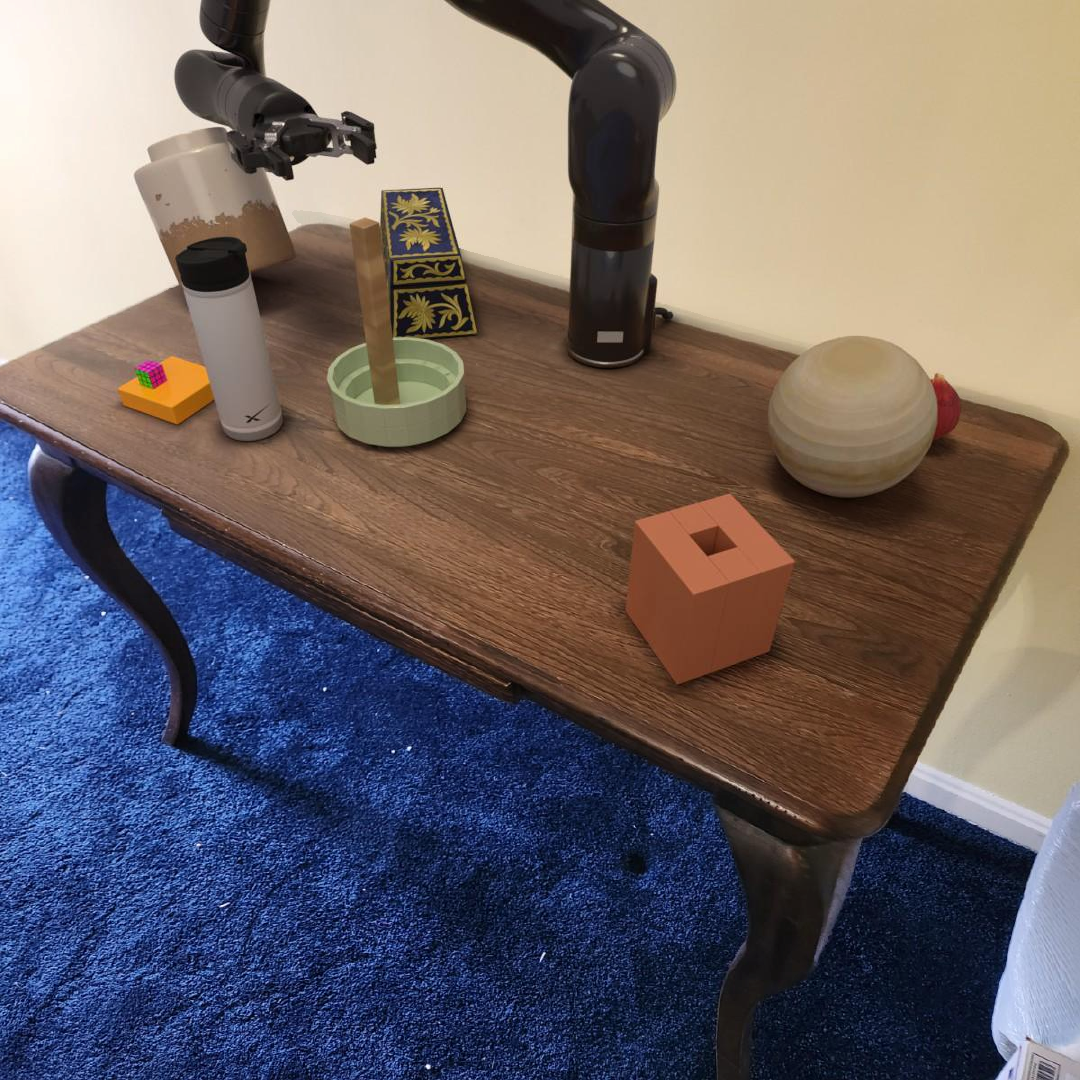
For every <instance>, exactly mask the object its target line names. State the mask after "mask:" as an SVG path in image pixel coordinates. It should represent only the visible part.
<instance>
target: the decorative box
mask: <svg viewBox="0 0 1080 1080" xmlns="http://www.w3.org/2000/svg"><path fill="white" fill-rule="evenodd" d="M379 217H380V219H379V225H380V233H381V242H382V250H383V259H384V268H385V276H386V285H387V293H388V302H389V310H390V319H391V328H392V336H393V338H396V337H412V338H420V339H428V340H432V339H444V338H455V337H465V336H466V337H467V336H477V335H478V332H477V328H476V322H475V318H474V312H473V307H472V302H471V298H470V291H469V287H468V281H467V278H466V273H465V269H464V263H463V259H462V253H461V251H460V246H459V243H458V242H459V241H458V239H457V235H456V231H455V228H454V224H453V221H452V217H451V212H450V210H449V206H448V203H447V199H446V196H445V191H444V187H442V188H441V187H424V188H404V189H403V188H402V189H401V188H400V189H385V190H383V189H382V190H381V191H380V215H379Z"/></svg>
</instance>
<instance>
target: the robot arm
mask: <svg viewBox="0 0 1080 1080" xmlns="http://www.w3.org/2000/svg"><path fill="white" fill-rule="evenodd" d="M271 1H272V0H200V5H199V6H200V7H199V14H198V15H199V19H198V20H199V22H198V23H199V28H200V30H201V32H202V34H203V36H204V37H205V38H206V40H207V41H209V42H210V43H211V44H212V45H214V46H215V47H217V48H218V49H221V50H222V51H216V50H209V49H199V48H198V49H197V48H196V49H190V50H187V51H185V52H184V53H182V54H181V55H180V56H179V58H178V59H177V62H176V63H175V67H174V73H173V79H174V86H175V89H176V92H177V95H178V98H179V99H180V101H181V102H182V104H183V106H184V107H185V108H186V109H187V110H188V111H189V112H190V113H191V114H193V116H194V115H195V116H196V117H198V118H200V119H203V120H205V121H208V122H211V123H215V124H217V125H221V126H224V127H228V128H229V129H231V130H229V131H227V133H226V135H227V139H228V144H229V148H230V152H231V157H232V159H233V160H234V161H235V162H236V163H237V164H238V166H239V167H240V168H241V169H242V170H243V171H244V172H245V173H247V174H253V173H256V172H257V168H264V170H265V172H266V173H271V174H273V175H274V176H275V177H279V178H282V179H283V180H285V182H288V181H293V180H294V179H295V174H294V169H293V166H297V165H299V164H301V163H303V162H304V161H306V160H307V159H308V158H310V157H311V158H317V157H318V156H322V157H331V158H340V157H342V156H343V155H344V154H345V155H350V156H351V155H352V156H353V157H354V158H356V159H358V160H359V161H360V162H362V163H364V164H365V165H367V166H368V165H369V166H370V165H373V164H375V162H376V161H375V160H376V159H377V151H376V150H377V149H378V148H377V142H376V141H377V140H376V134H375V133H376V132H375V130H376V129H375V123H374V122H371V121H370V120H367V118H364V117H361V116H360V115H358V114H356V113H355V112H352V111H348V110H345V111H343V112H341V113H340V117H341V120H340V119H336V118H335V119H334V118H327V117H322V116H319V115H318V113H317V112H316V111H315V109H314V108H313V106H312V105H311V103H310V102H309V101H308V100H307V99H306V98H305V97H303V96H302V95H300V94H299V93H298V92H296V91H294V90H292V89H291V88H289V87H287V86H286V85H285V84H284V83H283V84H282V83H281V82H280V81H277V80H275V79H274V78H271V77H269V76H268V77H267V71H266V63H265V32H266V27H267V23H268V16H269V11H270V6H271ZM443 1H444V2H445V3H446V4H448V5H449V6H450V7H452V8H453V9H455V10H456V11H458V12H459V13H460V14H462V15H463V16H466V17H467V18H468V19H471V20H472V21H474V22H476V23H478V24H480V25H482V26H484V27H486V28H488V29H490V30H493V31H495V32H497V33H499V34H502V35H503V36H506V37H509V38H511V39H512V40H515V41H517V42H519V43H522V44H524V45H525V46H528V47H530V48H532V49H533V50H535V51H536V52H538V53H539V54H541V55H542V56H544V57H545V58H547V60H549V61H550V62H551V63H552V64H554V65H555V66H556V67H557V68H558V69H559V70H560V71H562V72H563V73H564V74H565V75H566V76H567V77H568V78H569V79H570V80H571V83H570V87H569V94H568V96H569V97H568V104H567V105H568V107H567V176H568V182H569V186H570V189H571V192H572V208H571V209H572V210H571V211H572V212H571V213H572V214H571V242H570V243H571V245H570V268H569V270H570V271H569V299H568V301H569V302H568V326H567V327H568V329H567V339H566V351H567V353H568V354H569V356H570V357H571V358H573V359H574V360H575V361H577V362H579V363H581V364H584V365H586V366H590V367H595V368H601V369H602V368H605V369H611V368H612V369H613V368H614V369H615V368H621V367H626V366H630V365H631V364H634V363H636V362H638V361H640V359H641V358H642V357H643V355H647V354H650V353H651V347H652V338H653V330H655V326H656V325H655V324H656V316H661V317H662V318H663V320H665V321H669V320H671V319H673V318H674V313H673V311H672V310H671V311H668V309H666V308H665V307H659V306H657V307H656V302H657V301H656V300H657V290H658V278H657V276H656V275H654V274H653V273H652V269H653V259H654V258H653V256H654V249H655V241H656V240H655V239H656V230H657V229H656V227H657V218H658V208H659V199H660V185H659V182H658V180H657V179H656V159H657V148H658V147H657V146H658V136H659V135H658V134H659V125H660V122H661V121H662V120H663V119H664V117H666V115H667V114H668V113H669V111H670V109H671V108H672V105H673V103H674V101H675V98H676V93H677V85H678V84H677V74H676V70H675V66H674V64H673V62H672V59H671V57H670V55H669V54H668V52H667V51H666V49H665V48H664V47H663V46H662V44H660V43H659V41H657V40H656V39H655V38H653V36H651V35H649V34H648V33H647V32H645V31H644V30H642V29H641V28H639V27H638V26H637V25H635V24H634V23H632V22H630V21H629V20H627V19H626V18H625V17H623V16H622V15H620V14H619V13H618V12H616V11H615V10H614V9H612V8H610V7H609V6H607V5H606V4H604V3H603V2H602V1H600V0H443ZM223 51H224V52H223ZM345 142H350V144H349V145H347V144H346V143H345ZM330 144H332V147H330V146H329V145H330Z"/></svg>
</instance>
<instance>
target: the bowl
mask: <svg viewBox="0 0 1080 1080" xmlns="http://www.w3.org/2000/svg"><path fill="white" fill-rule="evenodd" d="M393 345H394V353H395V362H396V370H397V379H398V388H399V396H400V404H397V405H379V404H375V402H374V395H373V388H372V381H371V374H370V367H369V360H368V352H367V345H366V342H363V343H362V344H361V343H360V344H358V345H356V346H353V347H351V348H348V349H347V350H346V351H344V352H343V353H341V354H340V355H338V356H337V357H336V358H335V359H334V360H333V362H332V363H331V364H330V365H329V367H328V368H327V375H326V384H327V388H328V394H329V399H330V405H331V410H332V416H333V419H334V422H335V424H336V426H337V428H338V429H339V430H340V431H341V432H343V433H344V434H345V435H346V436H348V437H349V438H351V439H352V440H353V439H354V440H356V441H359V442H362V443H364V444H368V445H371V446H372V445H374V446H378V447H384V448H385V447H387V448H404V447H412V446H418V445H422V444H424V443H428V442H432V441H434V440H435V439H437V438H440V437H442V436H445V435H446V434H449V433H450V432H451V431H452V430H453V429H454V428H456V427H457V426H458V425H459V424H460V423H461V422H462V420H463V418H464V416H465V414H466V413H467V399H466V398H467V397H466V379H465V365H464V364H465V363H464V361H463V360H462V358H461V357H460V355H459V354H458V353H457V351H455V350H453V349H452V348H451V347H448V346H447V345H446V344H443V343H440V342H437V341H434V340H432V339H420V338H412V337H396V338H393Z"/></svg>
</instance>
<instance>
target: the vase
mask: <svg viewBox="0 0 1080 1080" xmlns="http://www.w3.org/2000/svg"><path fill="white" fill-rule="evenodd" d="M227 132H228V130H227V128H225V126H224V127H223V126H214V127H205V128H200V129H195V130H190V131H187V132H183V133H179V134H176V135H173V136H169V137H167V138H164V139H162V140H159V141H156V142H154V143H152V144H151V145H149V146H148V147H147V150H146V151H147V153H148V157H149V160H150V162H149V163H147V164H144V165H142V166H141V167H139V168H138V169H136V170H135V171H134V173H133V179H134V181H135V185H136V186H137V189H138V191H139V194H140V196H141V198H142V201H143V203H144V206H145V209H146V210H147V213H148V215H149V218H150V220H151V222H152V224H153V227H154V229H155V231H156V234H157V237H158V239H159V242H160V243H161V245H162V248H163V250H164V252H165V255H166V257H167V259H168V262H169V264H170V267H171V270H172V271H173V272H172V273H174V277H175V279H176V282H177V283H178V286H179V287H180V289H181V291H183V292H184V289H183V287H182V283H181V278H180V273H179V271H178V267H177V263H176V260H175V257H176V255H179V254H180V253H181V252H182V251H184V250H186V249H187V246H189V245H191V244H193V243H196V242H198V241H202V240H205V239H210V238H216V237H235V238H238V239H240V240H241V241H242V242H243V243H245V244H246V248H247V252H246V253H245V255H246V259H247V266H248V268H249V272H250V273H252V272H255V271H258V270H261V269H265V268H268V267H272V266H274V265H278V264H281V263H285V262H287V261H291V260H293V259H295V258H296V256H297V253H296V250H295V247H294V244H293V242H292V239H291V236H290V234H289V231H288V228H287V226H286V223H285V220H284V217H283V214H282V211H281V210H280V207H279V204H278V201H277V198H276V196H275V193H274V190H273V187H272V185H271V182H270V180H269V176H268V174H267V172H265V170H264V168H257V172H256V173H253V174H247V173H245V172H244V171H243V170H242V169H241V168H240V167H239V166H238V164H237V163H236V162H235V161H234V160H233V159H232V157H231V152H230V148H229V144H228V139H227V135H226V133H227Z"/></svg>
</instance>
